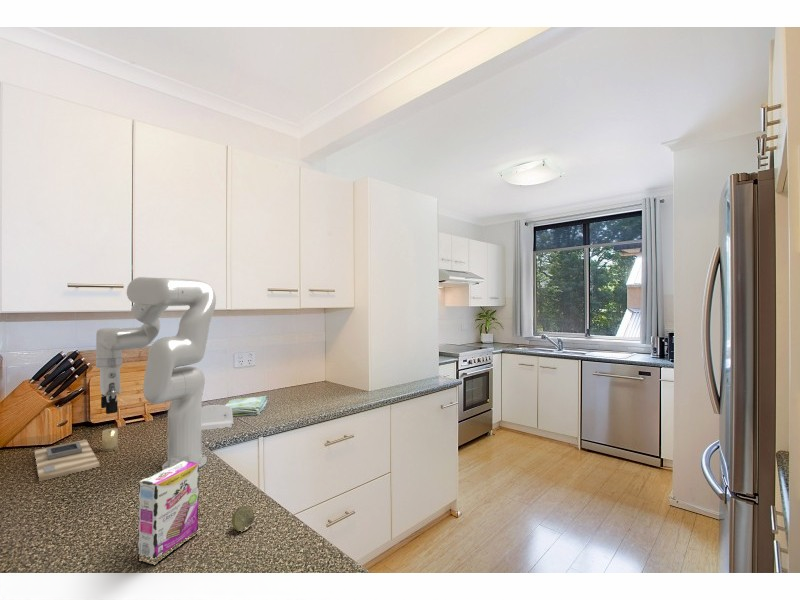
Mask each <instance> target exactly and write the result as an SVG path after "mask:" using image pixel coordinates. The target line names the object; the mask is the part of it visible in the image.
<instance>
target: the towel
mask: <svg viewBox="0 0 800 600" xmlns="http://www.w3.org/2000/svg"><path fill="white" fill-rule="evenodd" d="M267 404H268V395H262V396H261V395H260V396H253V397H252V396H251V397H244V398H243V397H242V398H233V399H230V400H228V402H226V404H224V405H225V406H229V407H231V408H232V414H233V417H239V416H241V417H242V416H243V417H244V416H253V415H255V416H257V415H256V414H259V415H261V413H262V412H263V411H262V410H264V409H265V408H266V406H267ZM264 407H265V408H264ZM261 411H262V412H261ZM260 412H261V413H260Z"/></svg>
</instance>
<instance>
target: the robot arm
mask: <svg viewBox="0 0 800 600" xmlns="http://www.w3.org/2000/svg"><path fill="white" fill-rule="evenodd" d="M126 296H127V299H128V300H129V301H130V302H132V303H133V305H132V306H131V309H130V311H131V315H132V317H134V319H136V320H137V321H138V322H140V323H142V324H141V326H139V327H138V326H137V327H126V328H125V327H124V328H120V327H102V328H99V329H97V330H96V332H95V333H96V339H95V341H96V342H95V343H96V344H95V345H96V346H95V347H96V348H95V353H96V355H95V358H96V359H95V368H96V369H99V391H100V393H101V397H100V407H101V409H105V413H106V414H107V415H109V414H115V413H118V395H121V394H122V385H121V384H122V383H121V382H122V381H121V379H122V378H121V370H120V369H121V367H122V366H123V351H126V350H133V349H141V348H145V347H147V346H149V345H151V346H150V347H149V350H148V353H147V358H146V365H145V373H144V377H143V385H142V391H143V395H144V398H145V400H146V401H147V402H148V403H150V404H151V405H152V404H153V405H160V404H164V403H165V404H166V403H169V402H170V404H169V407H168V410H167V461H165V462H164V463H163V464H162V466H161V471H163V470H165V469H167V468H169V467H171V466H173V465H175V464H177V463H180V462H182V461H187V462H194V463H199V469H200V468H202V467H203V466H205V464H206V463H207V461H208V457H207V456H206V455H205V454H202V452H203V451H202V447H203V446H202V440H203V439H202V438H203V437H202V430H201V407H202V402H203V401H202V400H203V393H204V388H205V380H206V378H205V375H204V373H203V371H202V369H200V368H198V367H196V366H192V365H195V364H198V363H200V362H201V361H202V360H203V358H204V356H205V353H206V349H207V343H208V342H207V341H208V336H209V330H210V324H211V321H212V317H213V316H214V312H215V309H216V304H217V303H216V302H217V299H216V297H217V296H216V293H215V291H214V289H213V287H212V286H211V284H209V283H207V282H205V281H203V280H199V279H188V278H170V277H169V278H167V277H148V276H139V277H136V278H134V279H132V280H131V281H130V282H129V283H128V285H127V289H126ZM176 306H177V307H181V306H182V307H183V306H184V307H185V306H187V307H188V306H189V308H188V309H187V310H186V311H185V312H184V313H183V314H182V317H181V318H180V321H179V325H178V330H177V333H176V335H175V336H174V335H173V336H166V337H161V338H158V339H157V340H155V339H156V337H158V335H159V333H160V329H161V322H160V319H159V318H160V317H161V316H162V315H163V313H165V311H166V310H167V309H168V308H169V307H176ZM154 340H155V341H154ZM153 341H154V342H153ZM152 342H153V343H152ZM151 343H152V344H151ZM190 365H191V366H190ZM117 394H118V395H117Z"/></svg>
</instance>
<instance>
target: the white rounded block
mask: <svg viewBox="0 0 800 600" xmlns="http://www.w3.org/2000/svg"><path fill="white" fill-rule="evenodd" d="M225 405H226V404H224V405H223V404H210V405H204V406H201V431H206V430H207V431H208V430H216V429H217V428H218V429H226V428H225V427H228V428H232V427H233V425H234V416H233V414H232V408H231V407H229V406H225Z"/></svg>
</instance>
